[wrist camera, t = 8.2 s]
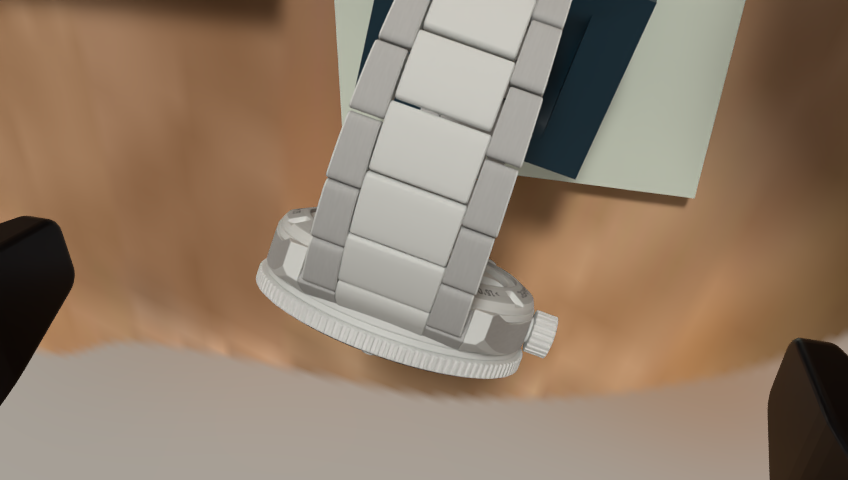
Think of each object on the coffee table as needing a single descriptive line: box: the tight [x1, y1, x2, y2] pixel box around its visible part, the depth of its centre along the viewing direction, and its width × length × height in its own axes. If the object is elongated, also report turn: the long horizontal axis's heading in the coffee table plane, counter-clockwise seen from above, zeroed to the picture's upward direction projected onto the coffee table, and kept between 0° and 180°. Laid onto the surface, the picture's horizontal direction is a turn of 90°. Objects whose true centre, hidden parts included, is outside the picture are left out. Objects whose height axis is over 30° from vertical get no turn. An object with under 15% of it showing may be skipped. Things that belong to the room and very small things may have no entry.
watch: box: [256, 0, 657, 379], centre depth 14 cm, size 6×8×11 cm
